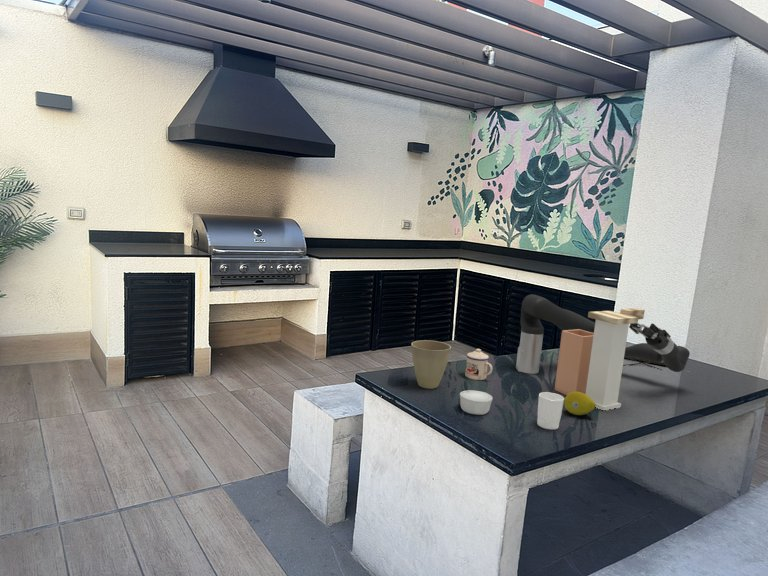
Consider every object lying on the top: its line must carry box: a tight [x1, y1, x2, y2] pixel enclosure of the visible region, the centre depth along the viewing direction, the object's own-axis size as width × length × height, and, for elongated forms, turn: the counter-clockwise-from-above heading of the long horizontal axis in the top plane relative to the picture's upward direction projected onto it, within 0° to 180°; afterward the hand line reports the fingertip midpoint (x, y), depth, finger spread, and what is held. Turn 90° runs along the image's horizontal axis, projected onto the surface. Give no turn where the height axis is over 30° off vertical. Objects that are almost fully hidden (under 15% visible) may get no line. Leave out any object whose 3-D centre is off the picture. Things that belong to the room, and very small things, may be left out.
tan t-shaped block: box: [587, 307, 645, 325], centre depth 204 cm, size 22×12×4 cm, turn 121°
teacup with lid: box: [464, 348, 493, 381], centre depth 226 cm, size 12×9×12 cm
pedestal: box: [586, 319, 630, 411], centre depth 204 cm, size 10×10×32 cm
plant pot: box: [411, 339, 452, 390], centre depth 211 cm, size 15×15×16 cm
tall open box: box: [554, 329, 594, 396], centre depth 216 cm, size 10×10×24 cm
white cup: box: [536, 391, 565, 431], centre depth 181 cm, size 8×8×10 cm
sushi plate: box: [623, 356, 667, 371], centre depth 272 cm, size 29×30×4 cm
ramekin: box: [459, 389, 493, 415], centre depth 191 cm, size 11×11×5 cm
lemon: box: [563, 391, 596, 416], centre depth 193 cm, size 11×8×8 cm
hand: (640, 323), depth 211 cm, fingers open, 8 cm apart
